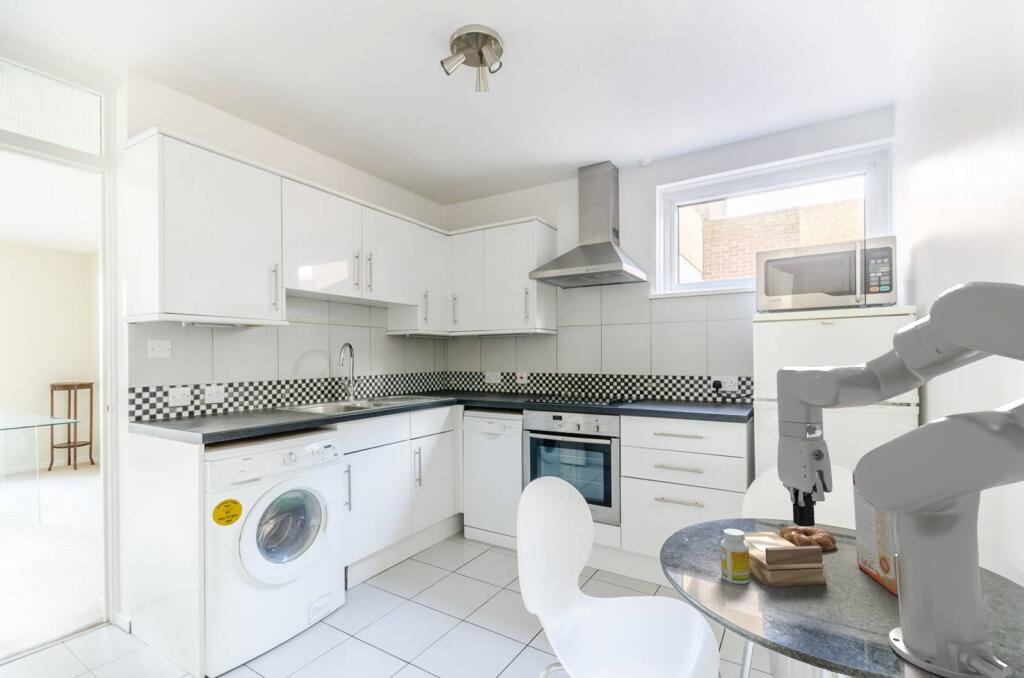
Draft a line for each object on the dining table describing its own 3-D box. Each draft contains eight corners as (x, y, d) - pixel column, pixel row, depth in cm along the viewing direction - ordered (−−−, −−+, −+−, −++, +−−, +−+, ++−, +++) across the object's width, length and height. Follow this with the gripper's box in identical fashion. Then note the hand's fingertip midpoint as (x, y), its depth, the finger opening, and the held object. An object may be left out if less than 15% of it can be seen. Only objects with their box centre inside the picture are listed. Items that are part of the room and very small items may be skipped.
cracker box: (931, 599, 88) (923, 485, 89) (894, 596, 89) (887, 484, 90) (888, 567, 102) (881, 469, 103) (856, 565, 103) (850, 468, 104)
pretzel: (776, 547, 115) (775, 531, 116) (782, 533, 124) (781, 519, 124) (835, 557, 108) (834, 540, 108) (838, 542, 117) (836, 527, 117)
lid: (825, 567, 95) (824, 547, 95) (767, 569, 95) (766, 550, 95) (772, 535, 113) (771, 519, 113) (723, 537, 112) (722, 521, 113)
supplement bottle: (716, 578, 99) (714, 531, 99) (729, 570, 102) (727, 525, 102) (743, 587, 94) (740, 538, 95) (755, 579, 98) (752, 531, 98)
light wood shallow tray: (826, 584, 95) (825, 568, 95) (768, 586, 94) (767, 571, 95) (773, 549, 113) (772, 536, 113) (724, 551, 112) (723, 538, 112)
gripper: (847, 436, 85) (851, 539, 85) (794, 424, 100) (797, 511, 100) (807, 436, 85) (811, 540, 84) (760, 424, 100) (763, 512, 99)
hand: (803, 524), depth 92 cm, fingers closed
